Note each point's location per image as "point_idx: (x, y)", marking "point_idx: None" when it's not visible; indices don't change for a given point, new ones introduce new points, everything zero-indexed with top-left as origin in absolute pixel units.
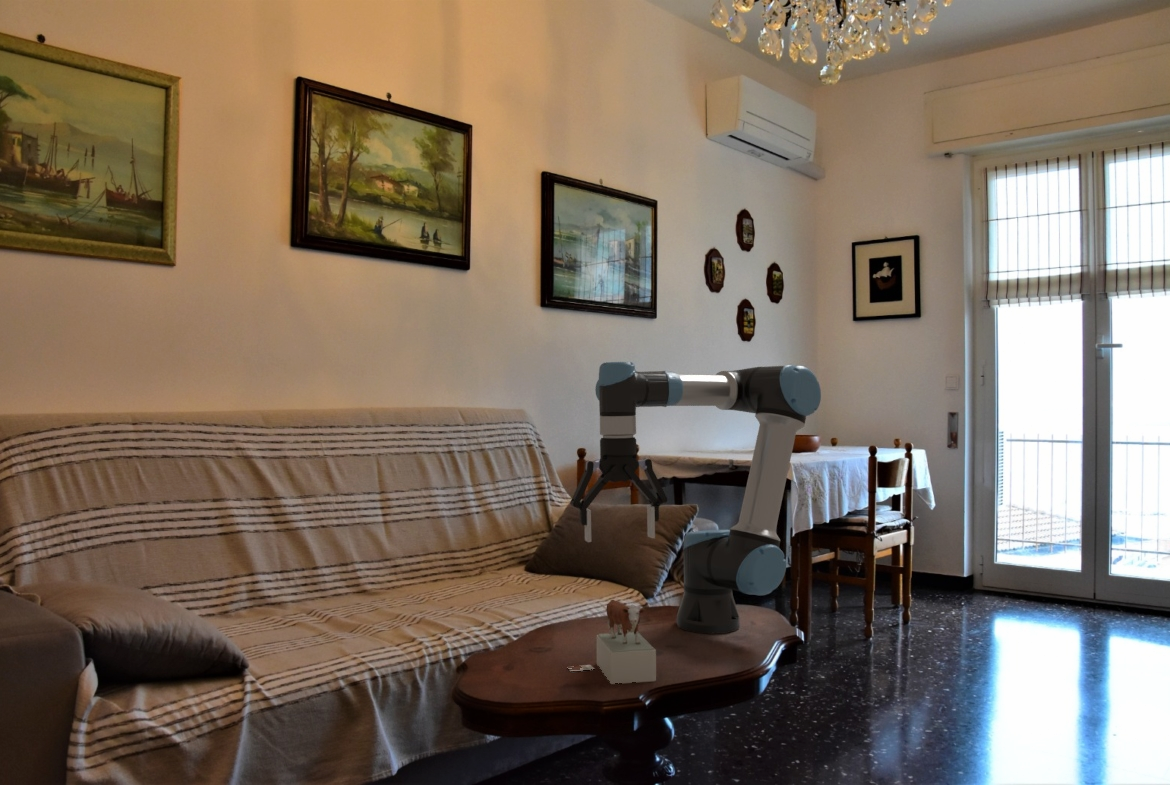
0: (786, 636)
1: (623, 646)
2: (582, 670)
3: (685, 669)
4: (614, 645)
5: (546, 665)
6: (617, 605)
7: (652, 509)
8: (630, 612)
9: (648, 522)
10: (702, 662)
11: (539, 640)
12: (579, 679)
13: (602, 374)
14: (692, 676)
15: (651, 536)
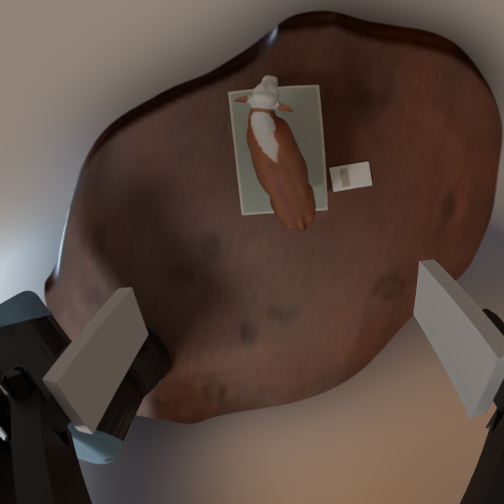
0: (49, 288)
1: (289, 113)
2: (350, 164)
3: (179, 154)
4: (306, 122)
5: (399, 205)
6: (294, 177)
7: (58, 371)
8: (275, 86)
9: (118, 361)
10: (149, 187)
11: (378, 328)
12: (360, 124)
13: None
14: (175, 118)
15: (129, 292)
